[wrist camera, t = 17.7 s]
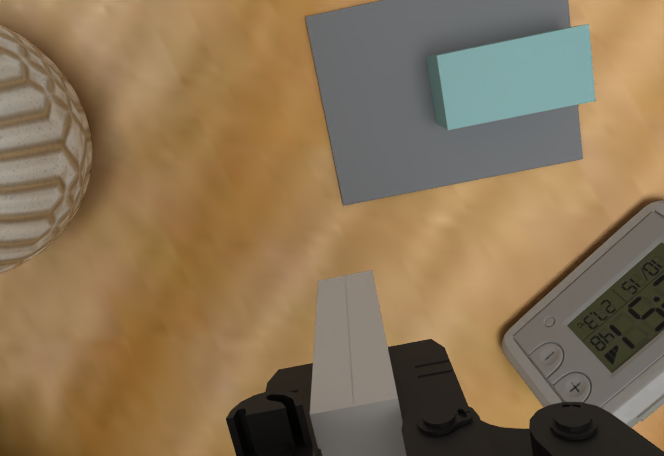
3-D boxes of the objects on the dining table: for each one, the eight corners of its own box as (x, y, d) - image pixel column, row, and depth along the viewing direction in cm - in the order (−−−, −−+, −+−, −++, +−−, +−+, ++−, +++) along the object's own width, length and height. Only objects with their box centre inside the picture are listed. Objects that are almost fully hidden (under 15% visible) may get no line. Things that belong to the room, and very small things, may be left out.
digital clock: (666, 184, 43) (770, 222, 32) (722, 281, 44) (837, 346, 34) (472, 306, 45) (511, 377, 35) (532, 393, 47) (587, 485, 37)
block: (447, 130, 37) (597, 100, 36) (436, 55, 36) (591, 23, 35) (436, 123, 41) (570, 96, 40) (426, 56, 40) (563, 28, 39)
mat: (343, 204, 43) (343, 205, 43) (305, 17, 40) (305, 16, 39) (580, 158, 42) (582, 159, 42) (562, -38, 39) (564, -39, 38)
